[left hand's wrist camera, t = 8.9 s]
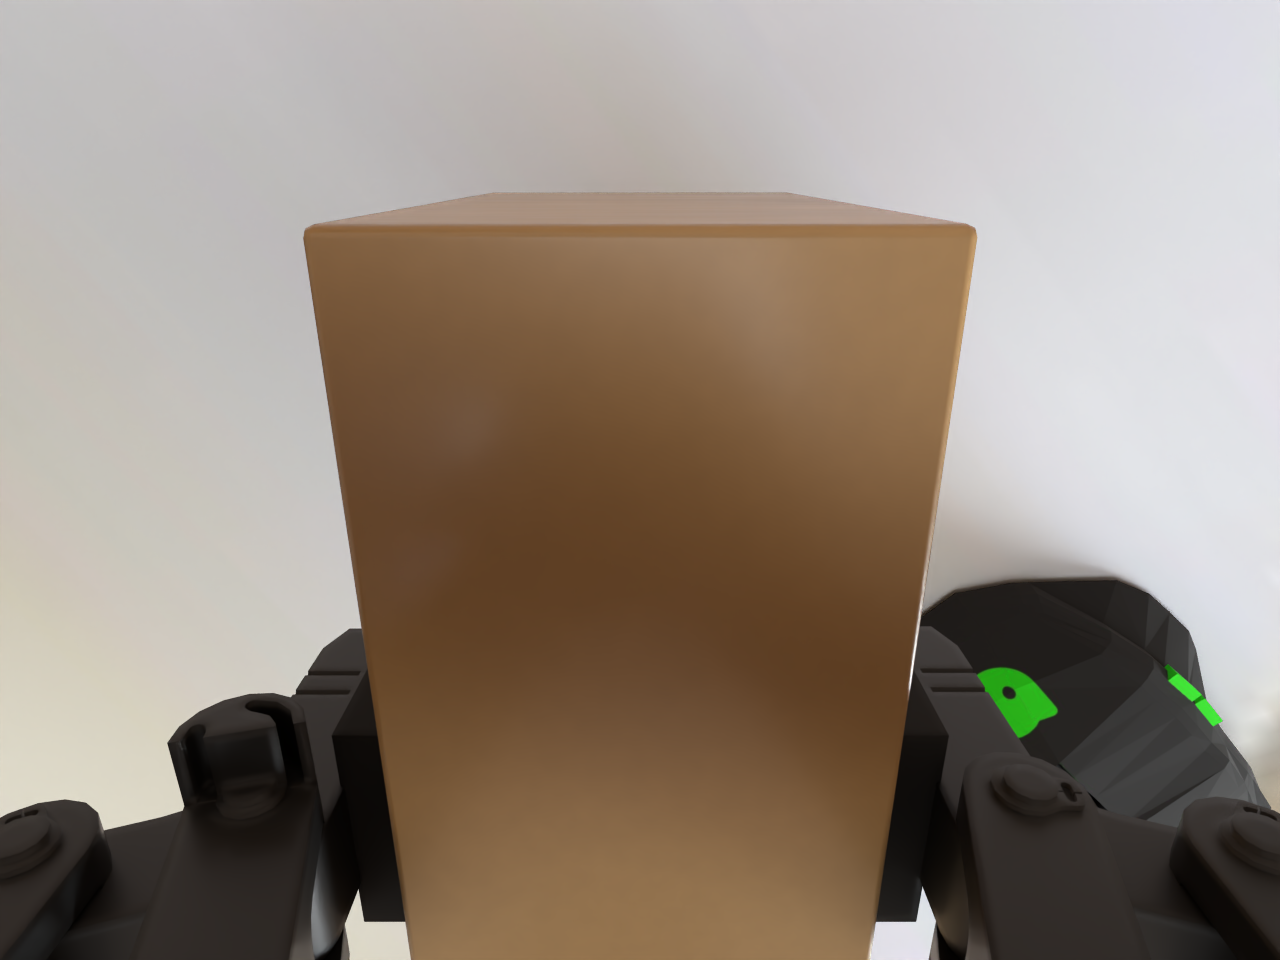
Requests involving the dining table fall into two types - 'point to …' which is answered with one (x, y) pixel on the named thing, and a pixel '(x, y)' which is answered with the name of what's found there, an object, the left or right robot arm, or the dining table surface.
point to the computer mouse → (1100, 692)
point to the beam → (640, 556)
